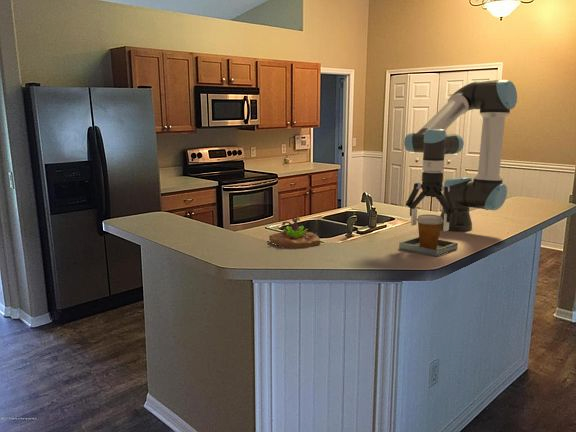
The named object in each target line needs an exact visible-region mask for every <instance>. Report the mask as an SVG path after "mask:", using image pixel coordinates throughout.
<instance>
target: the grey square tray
mask: <svg viewBox="0 0 576 432" xmlns="http://www.w3.org/2000/svg"><path fill="white" fill-rule="evenodd" d="M398 245H399V247H398V249H399V250H404V251H407V252H410V253H411V252H412V253H416V254H421V255H425V256H430V257H435V258H437V257H440V256H443V255H445V254H444V253H446V254H448V253H451V252H453V250H454V251H457V250H458V246H459V242H456V241H450V240H445V239H440V238H439V239H438V244H437V248H436V249H430V248H426V247H421V246H420V243H419V236H417V237H413V238H410V239H407V240H404V241H400V242H398ZM456 249H457V250H456ZM450 251H451V252H450ZM447 252H448V253H447ZM442 254H443V255H442ZM439 255H440V256H439Z"/></svg>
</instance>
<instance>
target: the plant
mask: <svg viewBox="0 0 576 432" xmlns="http://www.w3.org/2000/svg"><path fill="white" fill-rule="evenodd" d="M291 221H292V222H293V223H294V224H293V223H292V222H290V221H283V222H281V226H282V227H284V226H285V225H286V224H288V225H287V226H286V227H285V229H283V231H280V232H278V233H272V234H270V235H269V243H270V244H271V243H274V244H276V245H278V246H280V247H279V248H281V247H292V248H291V249H301V248H300V247H307V248H311V247H316V246H317V247H318V246H321V239H320V237H319V236H318V235H317V234H316V233H314V232H310V231H308V230H309V228H305V227H304V226H303V225H300V226H298V222H299V221H301V218H300V217H299V216H298V215H297V216H295V217H293V218H292V220H291ZM289 225H290V226H289ZM304 228H305V229H304ZM276 245H275V246H276ZM278 246H277V247H278Z"/></svg>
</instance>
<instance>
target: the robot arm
mask: <svg viewBox="0 0 576 432" xmlns="http://www.w3.org/2000/svg"><path fill="white" fill-rule="evenodd" d="M517 102H518V92H517V87H516V85H515V84H514V83H513V82H512V81H511V80H508V79H496V80H482V81H480V80H479V81H473V82H470V83H468V84H466V85H464V86H462V87H460V88H459V89H458V90H456V91H455V92H453V94H452V95H450V96H449V98H448V99H447V103H445V104H444V105H443V106H442V108H440V109H439V110H438V111H437V112H436V113H435V114H434V115H433V116H432V117H431V118H430V119H429V120H428V121H427V122H426V123H425V124H424V125H423V126H422V127H421V128H420V129H419V130H418V131H417V132H416V133H415V132H411V133H408V134H406V136H405V137H404V140H403V141H404V142H403V146H404V149H405V150H406V152H409V153H416V154H418V153H422V154H423V156H422V173H421V182H422V183H421V182H415V183H414V184H413V189H412V191H411V193H410V195H409V197H408V199H407V201H406V202H405V206H406V207H408V208H409V216H410V220H411V221H410V226H416V225H418V222H417V219H418V207H417V206H418V205H419V204H420V203H421V202H422V200H423V199H425V197H430V198H436V199H437V201H438V202H439V204H440V205H441V207H442V211H441V212H440V215H439V216H441V217H442V220H443V222H442V224H441V229H440V230H442V231H443V232H447V231H451V232H467V231H472V230H473V222H472V219H471V218H472V217H471V214H470V208H471V209H472V208H473V209H481V210H485V211H497V210H499V209H500V208H502V206H503V205H504V203H505V202H506V199H507V195H508V187H507V185H506V184H504V183H503V181H504V180H503V178H502V176H501V175H500V172H501V163H502V152H503V144H504V143H503V142H504V132H505V122H506V117H508V116H509V115H510V114H511V113H510V111H511V110H513V109H514V108H515V107H516V104H517ZM472 110H479V115H480V116H482V127H481V134H480V135H481V136H480V145H479V146H480V147H479V155H478V157H479V158H478V167H477V168H478V169H477V174H476V175H475V176H474V177H473V178H472V177H471V176H469V177H468V176H464V177H452V178H446V179H444V172H443V171H444V166H445V155H455V154H458V153H460V152H461V151H462V150H463V148H464V146H465V145H464V143H465V142H464V139H463V137H462V136H461V135H459V134H455V133H450V134H449V133H447V132H446V130H448V129H449V127H450V126H451V125H452V124H453V123H455V121H456V120H457V119H459V117H460V116H461V115H464V114H466V113H467V112H468V111H472ZM443 182H444V184H443ZM420 189H421V190H422V191H421V192H420ZM419 192H420V193H419ZM442 192H443V193H442ZM418 193H419V194H418ZM417 195H418V196H417Z"/></svg>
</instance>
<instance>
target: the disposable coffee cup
mask: <svg viewBox="0 0 576 432" xmlns="http://www.w3.org/2000/svg"><path fill="white" fill-rule="evenodd" d="M442 222H443V220H442V217H441V216H440V215H437V214H419V215H417V226H418V228H417V229H418V230H417V231H418V237H419V243H420V246H421V247H426V248H430V249H436V248H437V244H438V239H440V232H441V230H442V229H441V224H442Z"/></svg>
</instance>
